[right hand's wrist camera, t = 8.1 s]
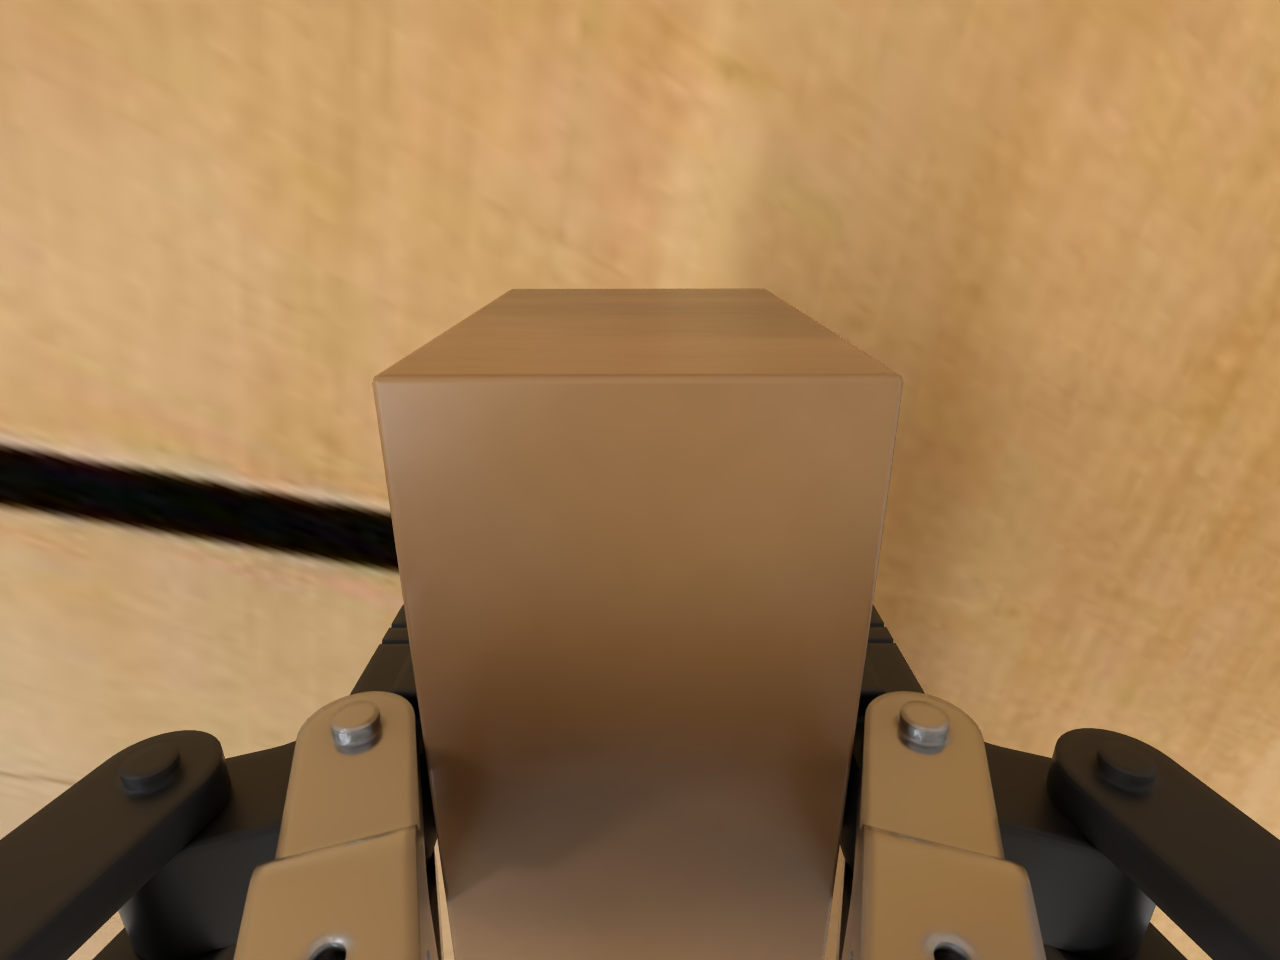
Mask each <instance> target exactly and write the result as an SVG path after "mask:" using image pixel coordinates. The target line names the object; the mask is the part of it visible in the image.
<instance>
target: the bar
mask: <svg viewBox="0 0 1280 960" xmlns="http://www.w3.org/2000/svg"><path fill="white" fill-rule="evenodd" d="M902 387H903V380H902V376H900V375H899V374H897V373H896V372H894V371H893V370H891V369H890V368H888V367H886V366H885V365H883V364H882V363H880V362H879V361H877V360H875V359H874V358H872V357H871V356H869V355H868V354H866V353H865V352H863V351H861V350H860V349H858V348H857V347H855V346H854V345H852V344H850V343H849V342H847V341H846V340H844V339H843V338H841V337H839V336H838V335H836V334H835V333H833V332H832V331H830V330H829V329H827V328H825V327H824V326H822V325H821V324H819V323H818V322H816V321H814V320H813V319H811V318H810V317H808V316H807V315H805V314H803V313H802V312H800V311H799V310H797V309H796V308H794V307H793V306H791V305H789V304H788V303H786V302H785V301H783V300H782V299H780V298H778V297H777V296H775V295H774V294H772V293H771V292H769V291H767V290H766V289H512V290H510V291H508V292H507V293H505V294H504V295H502V296H500V297H499V298H497V299H496V300H494V301H493V302H491V303H490V304H488V305H486V306H485V307H483V308H482V309H480V310H479V311H477V312H475V313H474V314H472V315H471V316H469V317H468V318H466V319H464V320H463V321H461V322H460V323H458V324H457V325H455V326H453V327H452V328H450V329H449V330H447V331H446V332H444V333H443V334H441V335H439V336H438V337H436V338H435V339H433V340H432V341H430V342H428V343H427V344H425V345H424V346H422V347H421V348H419V349H417V350H416V351H414V352H413V353H411V354H410V355H408V356H406V357H405V358H403V359H402V360H400V361H399V362H397V363H395V364H394V365H392V366H391V367H389V368H388V369H386V370H385V371H383V372H381V373H380V374H378V375H377V376H375V377H374V380H373V390H374V397H375V404H376V411H377V418H378V425H379V432H380V439H381V446H382V453H383V460H384V467H385V474H386V481H387V488H388V495H389V502H390V509H391V516H392V523H393V530H394V537H395V544H396V551H397V558H398V565H399V572H400V579H401V586H402V593H403V600H404V607H405V614H406V621H407V628H408V635H409V642H410V649H411V656H412V663H413V670H414V677H415V684H416V691H417V698H418V705H419V713H420V720H421V727H422V734H423V741H424V748H425V755H426V762H427V769H428V776H429V783H430V790H431V797H432V804H433V811H434V818H435V825H436V832H437V839H438V846H439V853H440V860H441V867H442V874H443V881H444V888H445V895H446V902H447V909H448V916H449V923H450V930H451V937H452V944H453V951H454V958H455V960H824V955H825V948H826V941H827V934H828V926H829V919H830V912H831V904H832V897H833V890H834V883H835V875H836V868H837V861H838V853H839V846H840V839H841V831H842V824H843V817H844V810H845V802H846V795H847V788H848V780H849V773H850V766H851V759H852V751H853V744H854V737H855V729H856V722H857V715H858V708H859V700H860V693H861V686H862V678H863V671H864V664H865V656H866V649H867V642H868V635H869V627H870V620H871V613H872V605H873V598H874V591H875V584H876V576H877V569H878V562H879V554H880V547H881V540H882V533H883V525H884V518H885V511H886V503H887V496H888V489H889V481H890V474H891V467H892V460H893V452H894V445H895V438H896V430H897V423H898V416H899V409H900V401H901V394H902Z"/></svg>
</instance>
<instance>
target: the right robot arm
mask: <svg viewBox="0 0 1280 960" xmlns="http://www.w3.org/2000/svg"><path fill="white" fill-rule="evenodd" d="M436 840H437V832H436V825H435V818H434V811H433V804H432V797H431V790H430V783H429V776H428V769H427V762H426V755H425V748H424V741H423V734H422V727H421V720H420V713H419V705H418V698H417V691H416V684H415V677H414V670H413V663H412V656H411V649H410V642H409V635H408V628H407V621H406V614H405V607H404V604H403V606H402V607H401V609H400V611H399V612H398V614H397V616H396V618H395V619H394V621H393V623H392V627H391V628H389V629H388V631H387V633H386V634H385V636H384V638H383V640H382V644H380V645H379V646H378V648H377V650H376V651H375V653H374V655H373V657H372V658H371V660H370V662H369V663H368V665H367V667H366V668H365V670H364V672H363V673H362V675H361V677H360V679H359V680H358V682H357V684H356V685H355V687H354V689H353V690H352V692H351V694H350V695H349V696H346V697H343V698H340V699H338V700H336V701H333V702H331V703H329V704H328V705H326V706H324V707H322V708H321V709H319V710H318V711H317V712H315V713H314V714H313V715H312V716H311V717H310V718H309V719H308V720H307V721H306V722H305V723H304V724H303V726H302V727H301V729H300V731H299V733H298V736H297V739H296V741H294V742H291V743H289V744H286V745H283V746H279V747H275V748H272V749H267V750H263V751H258V752H254V753H249V754H245V755H240V756H236V757H231V758H227V759H225V757H224V754H223V750H222V747H221V744H220V742H219V741H218V740H217V738H216V737H214V736H212V735H211V734H208V733H205V732H202V731H195V730H184V731H174V732H169V733H164V734H161V735H157V736H154V737H151V738H148V739H145V740H143V741H140V742H138V743H136V744H134V745H131V746H129V747H127V748H126V749H124V750H122V751H120V752H119V753H117V754H115V755H114V756H112V757H111V758H109V759H108V760H107V761H105V762H104V763H103V764H101V765H100V766H99V767H97V768H96V769H95V770H93V771H92V772H91V773H89V774H88V775H87V776H85V777H84V778H83V779H81V780H80V781H79V782H77V783H76V784H75V785H73V786H72V787H71V788H69V789H68V790H67V791H65V792H64V793H62V794H61V795H60V796H58V797H57V798H56V799H54V800H53V801H52V802H50V803H49V804H48V805H46V806H45V807H44V808H42V809H41V810H40V811H38V812H37V813H36V814H34V815H33V816H32V817H30V818H29V819H28V820H26V821H25V822H24V823H22V824H21V825H20V826H18V827H17V828H16V829H14V830H13V831H12V832H10V833H9V834H8V835H6V836H5V837H4V838H2V839H1V840H0V960H67V959H68V958H69V957H70V956H71V955H72V954H73V953H75V952H76V951H77V950H78V949H79V948H80V947H81V946H82V945H83V944H84V943H85V942H86V941H87V940H88V939H89V938H90V937H91V936H92V935H93V934H94V933H95V932H96V931H97V930H98V929H99V928H100V927H101V926H102V925H104V924H105V923H106V922H107V921H108V920H109V919H110V918H111V917H112V916H113V915H114V914H115V913H116V912H117V911H119V913H120V916H121V919H122V921H123V924H124V926H125V928H124V929H123V930H122V931H121V932H120V933H119V934H118V935H117V936H116V937H115V938H114V939H113V940H112V941H111V942H110V943H109V944H108V945H107V946H106V947H105V948H104V949H103V950H102V951H101V952H100V953H99V954H98V955H97V956H96V957H95V958H94V959H93V960H444V956H443V941H442V927H441V912H440V898H439V884H438V871H437V864H436V857H435V850H434V846H435V843H436ZM840 846H841V849H842V852H843V855H844V864H843V871H842V883H841V897H840V912H839V926H838V941H837V955H836V960H1187V959H1186V958H1185V957H1184V956H1183V955H1182V954H1181V953H1180V952H1179V951H1178V950H1177V949H1176V948H1175V947H1174V946H1173V945H1172V944H1171V943H1170V942H1169V941H1168V940H1167V939H1166V938H1165V937H1164V936H1163V935H1162V934H1161V933H1160V932H1159V931H1158V930H1157V929H1156V928H1155V927H1154V926H1153V925H1152V924H1151V923H1150V919H1151V917H1152V914H1153V912H1154V909H1155V906H1156V905H1157V906H1158V907H1159V908H1160V909H1161V910H1162V911H1163V912H1164V913H1165V914H1166V915H1167V916H1168V917H1169V918H1170V919H1171V920H1172V921H1173V922H1174V923H1175V924H1176V925H1178V926H1179V927H1180V928H1181V929H1182V930H1183V931H1184V932H1185V933H1186V934H1187V935H1188V936H1189V937H1190V938H1191V939H1192V940H1193V941H1194V942H1195V943H1196V944H1197V945H1198V946H1199V947H1200V948H1201V949H1202V950H1203V951H1204V952H1205V953H1206V954H1208V955H1209V956H1210V957H1211V958H1212V959H1213V960H1280V840H1279V839H1278V838H1276V837H1275V836H1274V835H1272V834H1271V833H1270V832H1268V831H1267V830H1266V829H1264V828H1263V827H1262V826H1260V825H1259V824H1258V823H1256V822H1255V821H1254V820H1252V819H1251V818H1250V817H1248V816H1247V815H1246V814H1244V813H1243V812H1242V811H1240V810H1239V809H1238V808H1236V807H1235V806H1234V805H1232V804H1231V803H1230V802H1228V801H1227V800H1225V799H1224V798H1223V797H1221V796H1220V795H1219V794H1217V793H1216V792H1215V791H1213V790H1212V789H1211V788H1209V787H1208V786H1207V785H1205V784H1204V783H1203V782H1201V781H1200V780H1199V779H1197V778H1196V777H1195V776H1193V775H1192V774H1191V773H1189V772H1188V771H1187V770H1185V769H1184V768H1183V767H1181V766H1180V765H1179V764H1177V763H1176V762H1175V761H1173V760H1172V759H1171V758H1169V757H1168V756H1166V755H1165V754H1163V753H1162V752H1161V751H1159V750H1157V749H1155V748H1154V747H1152V746H1150V745H1148V744H1146V743H1144V742H1142V741H1140V740H1137V739H1135V738H1132V737H1130V736H1127V735H1124V734H1120V733H1117V732H1113V731H1108V730H1103V729H1094V728H1082V729H1075V730H1072V731H1069V732H1066V733H1065V734H1063V735H1062V736H1061V737H1060V738H1059V739H1058V740H1057V743H1056V746H1055V750H1054V753H1053V757H1052V758H1048V757H1044V756H1039V755H1035V754H1030V753H1026V752H1022V751H1017V750H1013V749H1008V748H1004V747H1000V746H996V745H992V744H989V743H986V742H984V739H983V736H982V733H981V731H980V729H979V727H978V726H977V725H976V723H975V722H974V721H973V720H972V719H971V718H970V717H969V716H968V715H967V714H966V713H965V712H963V711H962V710H960V709H959V708H958V707H956V706H954V705H952V704H951V703H949V702H947V701H944V700H942V699H940V698H937V697H934V696H931V695H927V694H925V693H924V691H923V690H922V688H921V686H920V685H919V683H918V681H917V679H916V678H915V676H914V674H913V672H912V671H911V669H910V667H909V666H908V664H907V662H906V660H905V659H904V657H903V655H902V654H901V652H900V650H899V648H898V647H897V645H896V643H893V638H892V636H891V635H890V633H889V631H888V630H887V628H886V627H884V623H883V621H882V619H881V617H880V616H879V614H878V612H877V611H876V609H875V607H874V605H872V613H871V620H870V627H869V635H868V642H867V649H866V656H865V664H864V671H863V678H862V686H861V693H860V700H859V708H858V715H857V722H856V729H855V737H854V744H853V751H852V759H851V766H850V773H849V780H848V788H847V795H846V802H845V810H844V817H843V824H842V831H841V839H840Z"/></svg>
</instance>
